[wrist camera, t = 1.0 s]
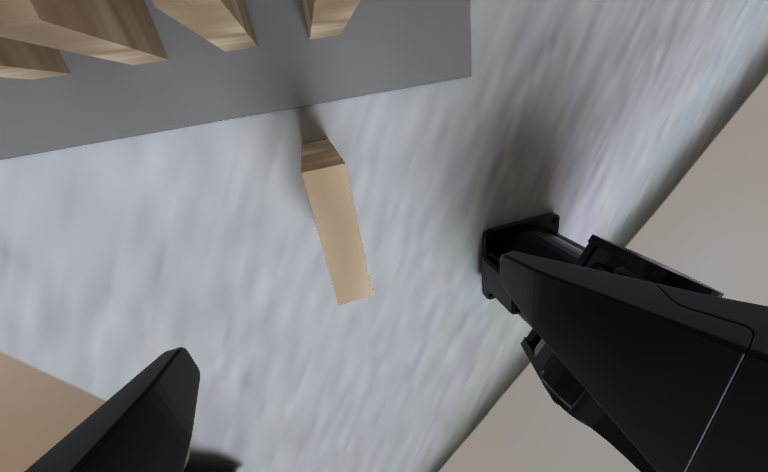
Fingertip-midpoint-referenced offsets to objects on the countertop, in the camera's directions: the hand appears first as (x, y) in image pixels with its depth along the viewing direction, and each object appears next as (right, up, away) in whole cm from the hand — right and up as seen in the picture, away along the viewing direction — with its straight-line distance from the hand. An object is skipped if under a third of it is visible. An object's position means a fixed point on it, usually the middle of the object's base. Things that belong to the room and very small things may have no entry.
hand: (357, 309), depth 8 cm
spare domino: (-3, +5, +11) cm, 12 cm away
